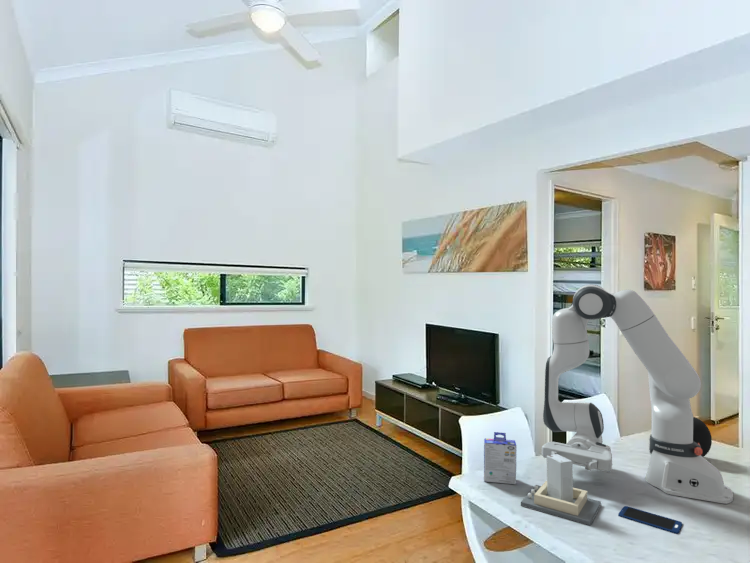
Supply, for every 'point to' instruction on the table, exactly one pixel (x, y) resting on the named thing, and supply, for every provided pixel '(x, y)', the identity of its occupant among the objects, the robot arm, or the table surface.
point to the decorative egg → (701, 435)
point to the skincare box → (560, 478)
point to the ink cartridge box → (500, 460)
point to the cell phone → (651, 519)
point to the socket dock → (563, 504)
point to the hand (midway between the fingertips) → (570, 463)
